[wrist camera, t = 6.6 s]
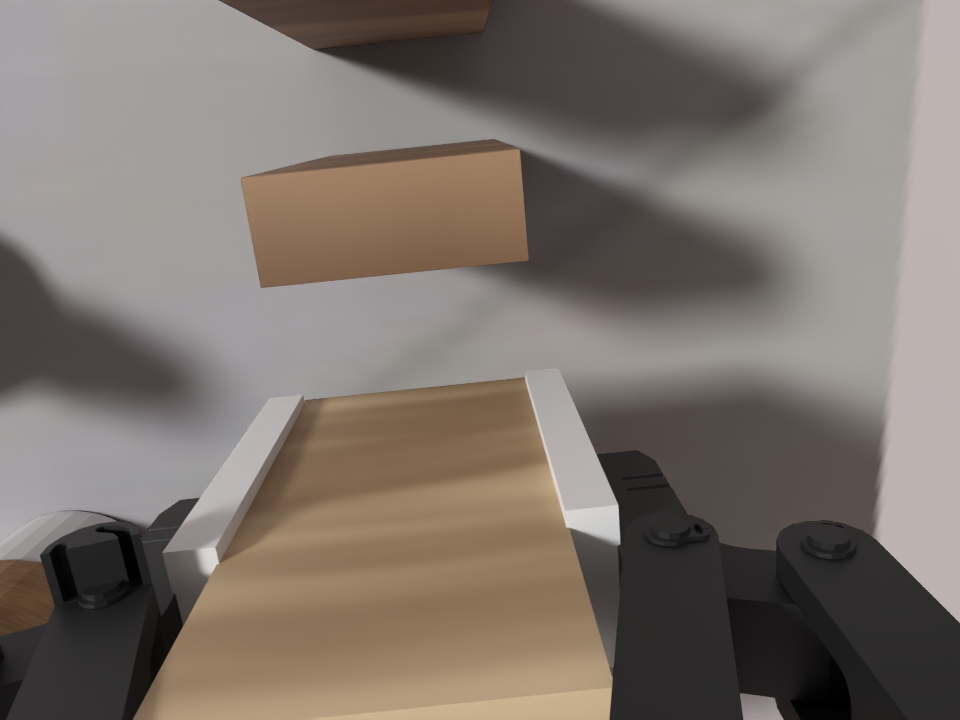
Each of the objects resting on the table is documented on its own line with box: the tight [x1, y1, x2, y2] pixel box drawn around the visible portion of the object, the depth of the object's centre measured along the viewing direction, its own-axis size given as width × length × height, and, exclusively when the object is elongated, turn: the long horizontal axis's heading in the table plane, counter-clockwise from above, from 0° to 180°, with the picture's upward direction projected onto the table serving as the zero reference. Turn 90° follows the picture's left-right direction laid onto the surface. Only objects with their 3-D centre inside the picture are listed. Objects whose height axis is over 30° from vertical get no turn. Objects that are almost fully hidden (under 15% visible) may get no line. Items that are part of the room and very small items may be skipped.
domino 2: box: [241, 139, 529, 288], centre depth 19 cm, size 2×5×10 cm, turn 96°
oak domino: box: [133, 378, 613, 720], centre depth 13 cm, size 2×5×10 cm, turn 95°
